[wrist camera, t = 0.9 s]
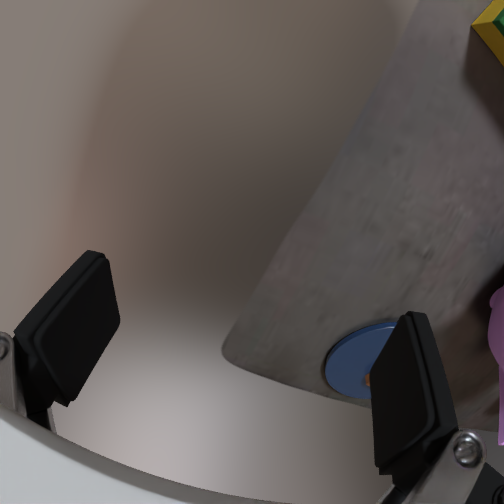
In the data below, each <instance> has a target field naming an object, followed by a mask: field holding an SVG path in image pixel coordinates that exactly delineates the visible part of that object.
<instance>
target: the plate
mask: <svg viewBox="0 0 504 504" xmlns="http://www.w3.org/2000/svg"><path fill="white" fill-rule="evenodd" d="M396 324H397V322H388V323H381V324H376V325H372V326H369V327H365V328H363V329H361V330H358V331H356V332H354V333H352V334H350V335H349V336H347V337H345V338H344V339H343V340H341V341H340V342H339V343H338V344H337V345H336V346H335V347H334V348H333V349H332V350H331V352H330V353H329V355H328V357H327V360H326V364H325V376H326V379H327V381H328V383H329V384H330V385H331V386H332V388H334V389H335V390H336V391H338V392H340V393H342V394H344V395H347V396H350V397H354V398H362V399H371V392H370V386H368V385H366V380H365V375H367V374H369V373H370V370H371V367H372V366H373V364H374V362H375V361H376V359H377V357H378V356H379V354H380V352H381V350H382V349H383V347H384V345H385V344H386V342H387V340H388V338H389V336H390V335H391V333H392V331H393V329H394V327H395V326H396Z"/></svg>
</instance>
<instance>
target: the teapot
mask: <svg viewBox="0 0 504 504" xmlns="http://www.w3.org/2000/svg"><path fill="white" fill-rule="evenodd" d="M490 307H491V308H492V312H491V316H490V321H489V327H488V342H489V347H490V349H491V351H492V353H493V355H494V357H495V359H496V361H497V363H498V364H499V389H500V411H499V435H498V445H504V286H503V287H501V288H499V289H498V290H497V291H496V292H495V293H494V294H493V295H492V297H491V299H490Z"/></svg>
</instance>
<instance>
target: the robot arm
mask: <svg viewBox="0 0 504 504" xmlns="http://www.w3.org/2000/svg"><path fill="white" fill-rule="evenodd" d="M119 324H120V315H119V310H118V305H117V301H116V296H115V291H114V285H113V281H112V275H111V269H110V263H109V260H108V259H106V257H105V255H104V254H103V253H100V252H95V251H91V250H87V251H86V252H85V253H84V254H83V255H82V256H81V257H80V258H79V259H78V260H77V261H76V262H75V263H74V264H73V265H72V266H71V267H70V268H69V269H68V270H67V271H66V272H65V273H64V274H63V275H62V276H61V277H60V278H59V280H58V281H57V282H56V283H55V284H54V285H53V286H52V287H51V288H50V289H49V290H48V291H47V293H46V294H45V295H44V296H43V297H42V298H41V299H40V300H39V302H38V303H37V304H36V305H35V306H34V307H33V308H32V310H31V311H30V312H29V313H28V314H27V315H26V317H25V318H24V319H23V320H22V321H21V323H20V324H19V325H18V326H17V328H16V329H15V330H14V333H15V336H14V337H13V338H11V336H10V335H8V334H7V333H5V332H0V504H290V503H279V502H271V501H264V500H257V499H249V498H244V497H239V496H233V495H227V494H223V493H218V492H213V491H209V490H205V489H200V488H196V487H192V486H188V485H184V484H181V483H177V482H174V481H171V480H167V479H164V478H161V477H157V476H154V475H151V474H148V473H146V472H143V471H140V470H137V469H134V468H131V467H129V466H126V465H123V464H121V463H118V462H116V461H113V460H111V459H108V458H106V457H104V456H101V455H99V454H97V453H94V452H92V451H90V450H87V449H86V448H83V447H81V446H79V445H77V444H75V443H73V442H71V441H69V440H67V439H65V438H63V437H61V436H59V435H57V433H56V429H55V424H54V419H53V414H52V409H51V405H52V403H53V402H54V401H55V402H58V403H59V404H62V405H63V406H66V407H68V405H69V403H70V401H74V400H75V399H76V398H77V396H78V394H79V393H80V391H81V389H82V387H83V386H84V384H85V382H86V380H87V379H88V377H89V375H90V374H91V372H92V370H93V368H94V367H95V365H96V363H97V361H98V360H99V358H100V357H101V355H102V353H103V352H104V350H105V348H106V347H107V345H108V343H109V342H110V340H111V338H112V337H113V335H114V334H115V332H116V331H117V329H118V327H119ZM369 381H370V392H371V404H372V417H373V434H374V458H375V465H376V467H379V475H392V479H393V480H392V481H393V484H392V485H391V486H390V487H389V489H388V490H387V491H386V492H385V494H384V495H383V496H382V497H381V498H380V500H379V501H378V502H377V503H376V504H504V477H503V476H502V475H501V474H499V473H498V472H497V471H496V470H495V469H494V468H492V467H491V466H490V465H489V464H487V463H486V462H485V460H486V456H487V450H486V445H485V442H484V441H483V439H482V437H481V436H480V435H479V434H478V433H477V432H474V431H473V430H469V429H463V430H459V429H458V423H457V418H456V414H455V410H454V405H453V401H452V397H451V393H450V389H449V386H448V382H447V378H446V375H445V371H444V367H443V364H442V361H441V357H440V354H439V351H438V348H437V344H436V341H435V338H434V335H433V332H432V329H431V326H430V323H429V320H428V318H427V315H426V314H425V313H419V312H413V311H408V312H407V313H406V314H405V315H402V316H401V317H400V318H399V320H398V322H397V324H396V326H395V327H394V329H393V331H392V333H391V335H390V336H389V338H388V340H387V342H386V344H385V345H384V347H383V349H382V350H381V352H380V354H379V356H378V357H377V359H376V361H375V362H374V364H373V366H372V367H371V370H370V373H369Z"/></svg>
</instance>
